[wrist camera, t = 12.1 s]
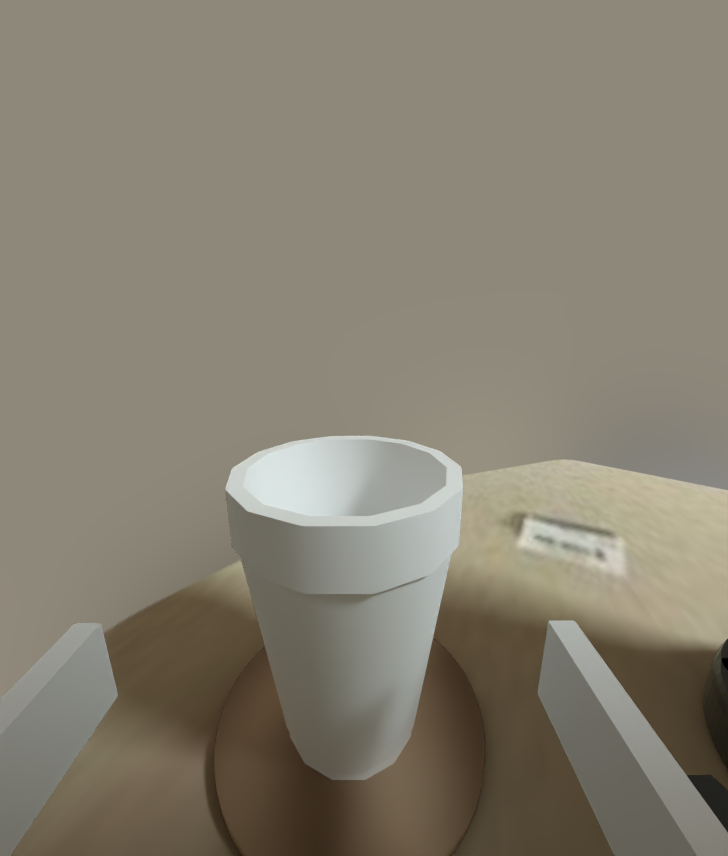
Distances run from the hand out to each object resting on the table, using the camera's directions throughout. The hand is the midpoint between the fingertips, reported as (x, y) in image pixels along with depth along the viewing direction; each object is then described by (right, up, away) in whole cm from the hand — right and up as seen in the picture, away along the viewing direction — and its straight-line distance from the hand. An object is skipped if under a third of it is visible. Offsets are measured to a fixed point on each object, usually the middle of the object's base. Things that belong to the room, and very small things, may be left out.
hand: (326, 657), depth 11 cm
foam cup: (0, -8, +8) cm, 11 cm away
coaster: (0, -8, +8) cm, 11 cm away
